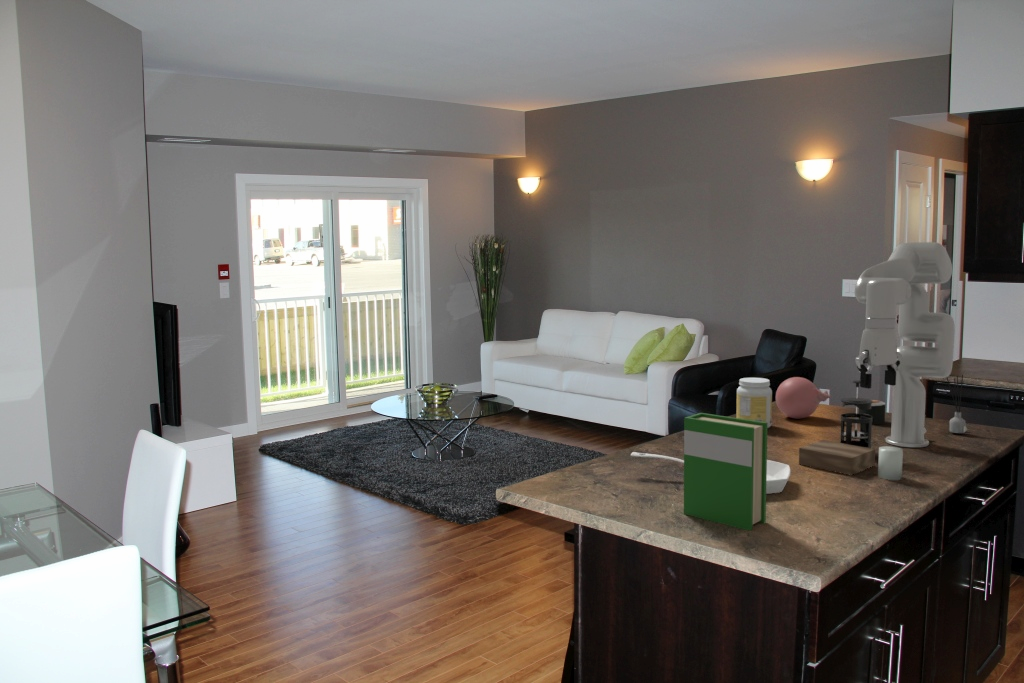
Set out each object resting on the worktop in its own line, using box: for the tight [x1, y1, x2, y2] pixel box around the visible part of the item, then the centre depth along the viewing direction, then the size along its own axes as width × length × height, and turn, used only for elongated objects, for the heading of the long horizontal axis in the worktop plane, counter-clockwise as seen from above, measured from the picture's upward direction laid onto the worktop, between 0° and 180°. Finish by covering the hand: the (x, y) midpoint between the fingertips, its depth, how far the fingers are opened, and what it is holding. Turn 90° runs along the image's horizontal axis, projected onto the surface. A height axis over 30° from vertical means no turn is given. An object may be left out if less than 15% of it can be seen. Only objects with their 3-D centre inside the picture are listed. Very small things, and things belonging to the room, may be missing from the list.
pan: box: [630, 451, 791, 495], centre depth 224 cm, size 28×43×7 cm, turn 70°
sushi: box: [858, 399, 886, 425], centre depth 290 cm, size 8×8×8 cm
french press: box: [839, 379, 873, 449], centre depth 247 cm, size 12×9×23 cm
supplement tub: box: [735, 377, 773, 429], centre depth 287 cm, size 12×12×17 cm
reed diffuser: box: [945, 374, 968, 434], centre depth 271 cm, size 10×7×20 cm
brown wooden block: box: [798, 439, 876, 476], centre depth 236 cm, size 14×16×5 cm
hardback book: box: [683, 412, 768, 532], centre depth 192 cm, size 18×7×24 cm, turn 46°
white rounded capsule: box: [877, 445, 904, 481], centre depth 223 cm, size 6×6×8 cm
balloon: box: [775, 376, 832, 420], centre depth 297 cm, size 15×20×15 cm
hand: (877, 386), depth 222 cm, fingers open, 9 cm apart
